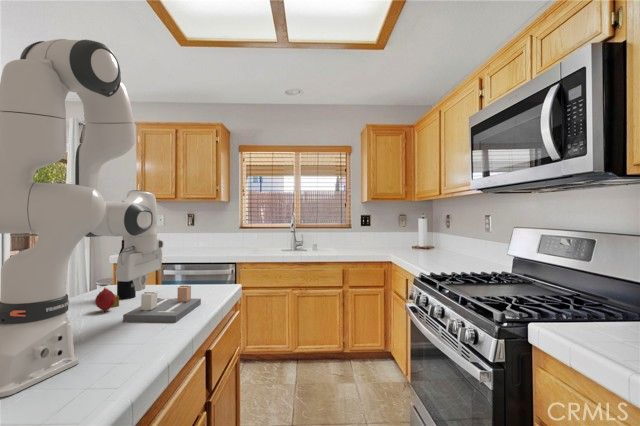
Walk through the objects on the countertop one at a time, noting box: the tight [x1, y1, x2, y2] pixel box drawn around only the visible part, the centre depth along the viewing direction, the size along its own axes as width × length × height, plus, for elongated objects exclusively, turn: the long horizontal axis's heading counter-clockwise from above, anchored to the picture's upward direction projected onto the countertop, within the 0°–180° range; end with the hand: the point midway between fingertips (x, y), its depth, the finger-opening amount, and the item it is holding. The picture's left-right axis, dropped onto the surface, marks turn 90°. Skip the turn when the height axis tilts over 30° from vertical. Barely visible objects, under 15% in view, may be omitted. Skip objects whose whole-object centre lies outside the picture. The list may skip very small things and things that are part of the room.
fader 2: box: [176, 284, 192, 302], centre depth 126 cm, size 4×3×5 cm
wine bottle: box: [116, 236, 137, 300], centre depth 139 cm, size 6×6×30 cm
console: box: [122, 297, 202, 323], centre depth 119 cm, size 22×16×2 cm
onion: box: [94, 286, 116, 312], centre depth 119 cm, size 6×6×8 cm
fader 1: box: [140, 291, 158, 310], centre depth 115 cm, size 4×3×5 cm
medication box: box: [98, 291, 120, 309], centre depth 129 cm, size 12×3×4 cm, turn 49°
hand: (140, 290), depth 109 cm, fingers closed
